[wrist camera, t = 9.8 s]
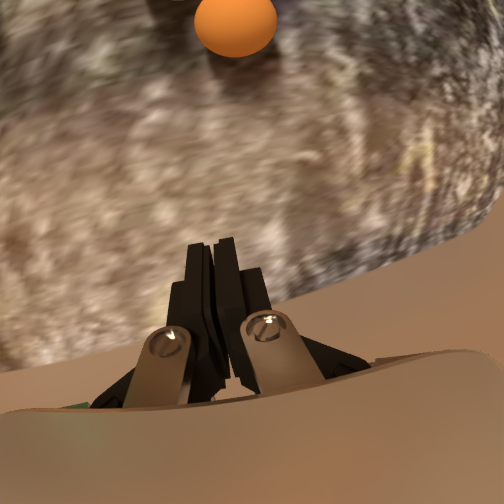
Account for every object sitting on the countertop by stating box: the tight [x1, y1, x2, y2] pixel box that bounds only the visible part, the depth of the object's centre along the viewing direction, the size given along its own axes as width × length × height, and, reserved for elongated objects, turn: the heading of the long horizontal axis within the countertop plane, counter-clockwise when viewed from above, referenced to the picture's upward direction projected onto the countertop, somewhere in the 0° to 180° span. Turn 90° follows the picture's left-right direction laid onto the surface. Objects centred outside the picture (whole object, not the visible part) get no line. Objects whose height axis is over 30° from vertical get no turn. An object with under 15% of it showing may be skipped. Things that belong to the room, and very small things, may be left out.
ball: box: [194, 0, 277, 57], centre depth 18 cm, size 6×6×6 cm
